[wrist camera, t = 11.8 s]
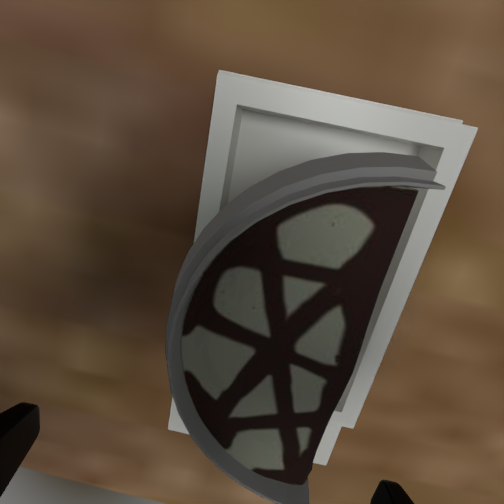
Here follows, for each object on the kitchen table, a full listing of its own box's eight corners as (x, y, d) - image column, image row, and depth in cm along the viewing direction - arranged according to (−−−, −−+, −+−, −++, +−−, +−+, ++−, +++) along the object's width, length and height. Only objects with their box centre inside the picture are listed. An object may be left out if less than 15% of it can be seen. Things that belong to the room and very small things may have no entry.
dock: (172, 418, 25) (155, 461, 21) (222, 73, 16) (207, 57, 13) (324, 453, 25) (330, 501, 21) (452, 121, 16) (496, 117, 13)
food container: (236, 121, 16) (174, 98, 7) (355, 148, 16) (456, 161, 7) (200, 325, 20) (131, 483, 11) (294, 346, 20) (305, 524, 11)
